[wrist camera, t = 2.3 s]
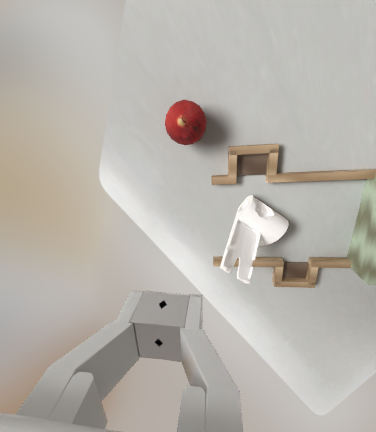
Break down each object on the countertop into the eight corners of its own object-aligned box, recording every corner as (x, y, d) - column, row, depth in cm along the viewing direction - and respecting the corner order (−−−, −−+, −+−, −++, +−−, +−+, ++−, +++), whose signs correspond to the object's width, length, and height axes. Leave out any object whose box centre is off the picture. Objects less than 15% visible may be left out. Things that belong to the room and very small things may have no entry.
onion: (214, 117, 32) (214, 113, 25) (194, 150, 35) (189, 155, 27) (182, 95, 32) (173, 84, 24) (164, 130, 34) (150, 130, 27)
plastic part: (283, 216, 37) (313, 249, 26) (247, 254, 41) (260, 297, 30) (250, 192, 36) (267, 217, 26) (216, 233, 40) (218, 270, 29)
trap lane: (211, 147, 34) (210, 150, 29) (386, 137, 31) (424, 138, 25) (213, 280, 44) (214, 301, 38) (347, 283, 41) (368, 306, 35)
